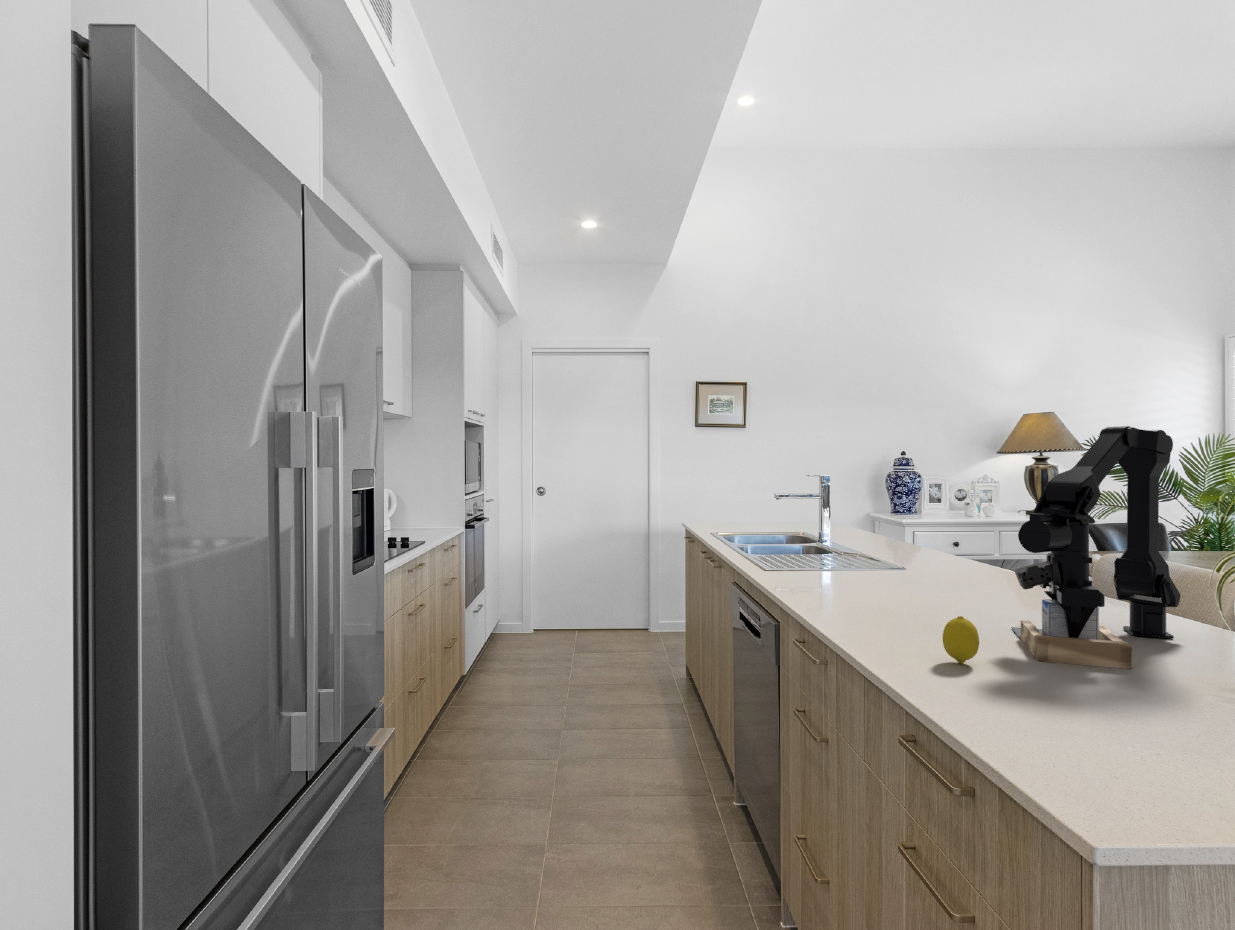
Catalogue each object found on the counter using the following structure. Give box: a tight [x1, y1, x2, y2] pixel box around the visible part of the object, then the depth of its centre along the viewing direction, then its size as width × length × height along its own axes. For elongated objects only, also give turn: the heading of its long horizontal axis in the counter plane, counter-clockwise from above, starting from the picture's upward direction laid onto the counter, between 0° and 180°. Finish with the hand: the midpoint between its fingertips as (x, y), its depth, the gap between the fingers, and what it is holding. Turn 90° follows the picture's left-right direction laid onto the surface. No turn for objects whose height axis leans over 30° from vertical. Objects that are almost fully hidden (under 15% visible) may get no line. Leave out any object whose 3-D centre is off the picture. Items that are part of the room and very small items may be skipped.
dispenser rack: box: [1020, 619, 1133, 670], centre depth 123 cm, size 16×13×4 cm
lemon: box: [942, 615, 980, 665], centre depth 117 cm, size 6×6×8 cm
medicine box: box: [1041, 598, 1100, 640], centre depth 124 cm, size 8×4×9 cm, turn 71°
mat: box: [1010, 626, 1042, 639], centre depth 134 cm, size 8×12×1 cm, turn 69°
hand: (1069, 636), depth 124 cm, fingers closed on medicine box, 4 cm apart
